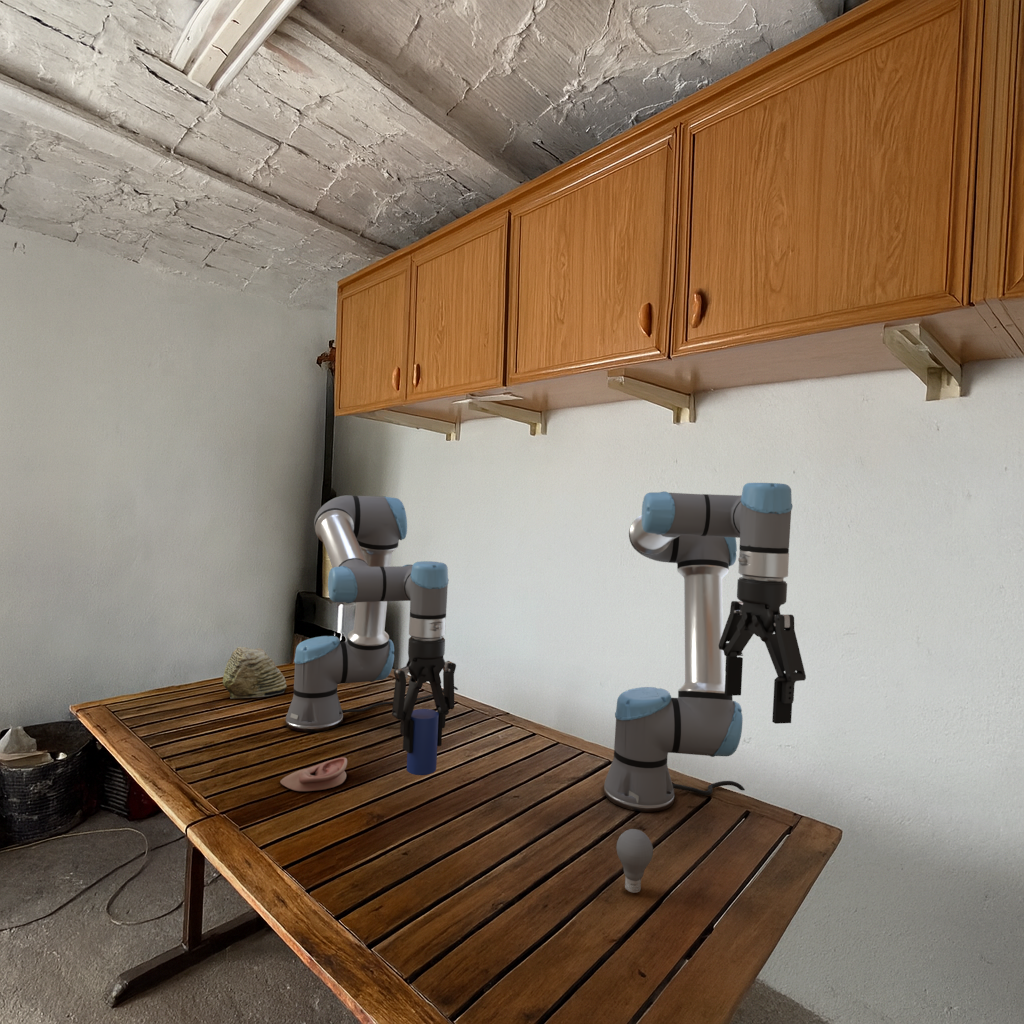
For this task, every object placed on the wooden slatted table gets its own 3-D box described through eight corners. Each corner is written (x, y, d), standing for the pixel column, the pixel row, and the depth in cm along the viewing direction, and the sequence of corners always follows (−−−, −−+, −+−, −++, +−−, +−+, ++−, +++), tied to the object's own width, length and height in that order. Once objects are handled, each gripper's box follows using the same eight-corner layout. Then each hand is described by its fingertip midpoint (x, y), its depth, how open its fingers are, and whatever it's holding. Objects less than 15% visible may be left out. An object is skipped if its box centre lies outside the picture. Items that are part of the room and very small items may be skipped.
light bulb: (610, 879, 108) (613, 822, 108) (644, 879, 109) (647, 822, 109) (619, 902, 102) (622, 840, 102) (655, 901, 103) (658, 840, 103)
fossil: (218, 695, 195) (220, 647, 195) (278, 685, 208) (279, 640, 207) (228, 703, 189) (230, 653, 188) (289, 692, 201) (290, 645, 201)
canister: (416, 760, 136) (418, 707, 135) (441, 766, 133) (443, 711, 133) (401, 771, 130) (403, 715, 130) (427, 777, 128) (429, 720, 127)
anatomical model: (273, 769, 136) (301, 749, 148) (272, 787, 136) (300, 766, 148) (329, 777, 134) (353, 756, 145) (329, 796, 134) (353, 773, 145)
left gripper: (393, 645, 122) (388, 763, 123) (475, 635, 134) (470, 744, 135) (376, 637, 128) (371, 750, 129) (456, 629, 140) (451, 732, 140)
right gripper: (702, 568, 114) (696, 685, 115) (790, 588, 90) (783, 737, 90) (740, 569, 116) (734, 684, 116) (836, 589, 91) (829, 735, 92)
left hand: (422, 747), depth 132 cm, fingers closed on canister, 6 cm apart
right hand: (755, 708), depth 103 cm, fingers open, 13 cm apart
